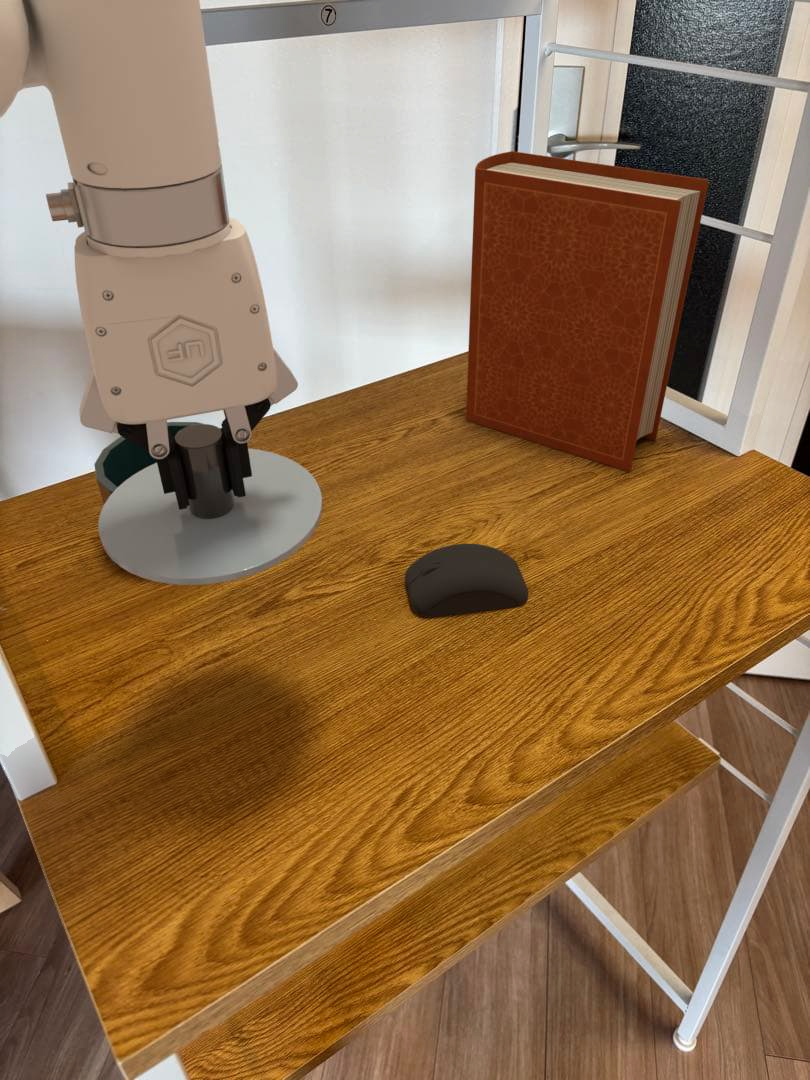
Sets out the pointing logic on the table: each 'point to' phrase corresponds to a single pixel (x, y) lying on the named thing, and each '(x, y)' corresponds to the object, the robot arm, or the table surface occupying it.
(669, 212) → the book
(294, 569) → the table surface
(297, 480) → the lid
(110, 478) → the tin
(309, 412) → the table surface
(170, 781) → the table surface
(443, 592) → the computer mouse
